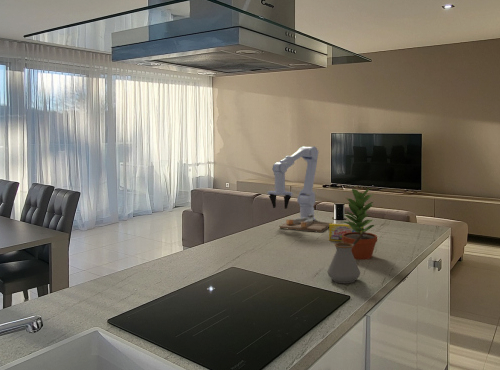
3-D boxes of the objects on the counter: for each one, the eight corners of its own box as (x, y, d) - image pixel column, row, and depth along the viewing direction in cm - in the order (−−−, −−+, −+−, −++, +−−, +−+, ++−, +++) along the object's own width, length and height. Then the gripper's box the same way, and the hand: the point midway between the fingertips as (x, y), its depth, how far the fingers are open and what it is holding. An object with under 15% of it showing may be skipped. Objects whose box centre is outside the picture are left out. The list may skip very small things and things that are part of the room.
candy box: (328, 241, 219) (328, 224, 218) (329, 240, 221) (329, 223, 220) (363, 242, 214) (363, 225, 213) (363, 241, 216) (363, 224, 215)
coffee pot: (350, 287, 153) (350, 244, 151) (321, 280, 160) (321, 239, 159) (378, 272, 169) (378, 233, 167) (350, 266, 176) (351, 229, 175)
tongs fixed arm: (308, 221, 260) (308, 214, 259) (315, 221, 258) (315, 214, 257) (297, 226, 244) (297, 219, 244) (304, 227, 243) (304, 220, 242)
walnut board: (292, 222, 265) (292, 219, 265) (332, 225, 254) (332, 222, 254) (279, 228, 248) (279, 225, 248) (321, 232, 237) (321, 229, 237)
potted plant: (338, 251, 199) (339, 183, 195) (374, 251, 197) (375, 183, 194) (341, 261, 184) (342, 188, 181) (380, 261, 182) (381, 187, 179)
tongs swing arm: (304, 221, 258) (304, 217, 258) (307, 222, 256) (307, 217, 256) (286, 224, 251) (286, 219, 251) (288, 224, 249) (288, 220, 249)
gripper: (265, 184, 251) (265, 208, 253) (289, 185, 245) (289, 209, 246) (270, 182, 257) (270, 206, 259) (294, 183, 251) (294, 207, 252)
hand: (280, 208), depth 253 cm, fingers open, 6 cm apart
